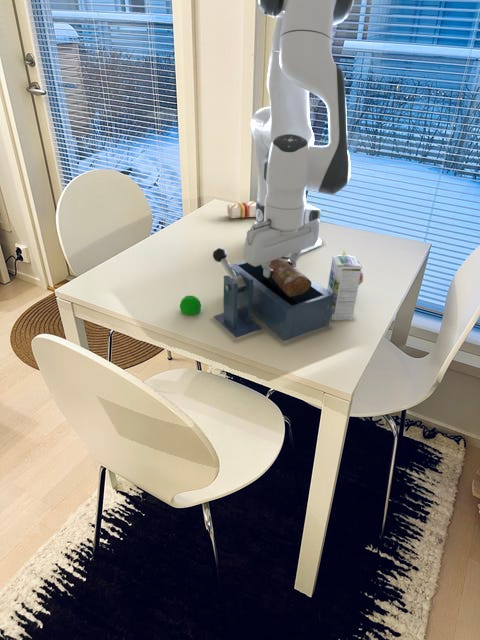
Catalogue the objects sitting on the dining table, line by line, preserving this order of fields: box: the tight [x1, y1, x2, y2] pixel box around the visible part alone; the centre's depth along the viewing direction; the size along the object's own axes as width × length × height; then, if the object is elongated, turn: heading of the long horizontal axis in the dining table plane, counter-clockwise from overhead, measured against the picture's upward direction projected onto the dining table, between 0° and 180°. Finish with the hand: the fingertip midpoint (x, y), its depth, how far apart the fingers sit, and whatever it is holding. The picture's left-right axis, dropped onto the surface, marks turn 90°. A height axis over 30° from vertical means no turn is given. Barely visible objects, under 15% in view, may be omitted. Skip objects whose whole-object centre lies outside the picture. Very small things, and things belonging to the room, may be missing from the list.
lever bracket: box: [213, 271, 263, 338], centre depth 114 cm, size 10×7×13 cm
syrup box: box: [326, 254, 363, 321], centre depth 119 cm, size 6×6×14 cm
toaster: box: [228, 260, 334, 342], centre depth 120 cm, size 13×24×9 cm, turn 32°
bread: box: [269, 257, 311, 297], centre depth 116 cm, size 6×19×6 cm, turn 20°
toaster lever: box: [212, 247, 247, 293], centre depth 113 cm, size 12×3×3 cm, turn 32°
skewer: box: [226, 200, 256, 219], centre depth 175 cm, size 21×6×5 cm, turn 109°
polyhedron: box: [179, 295, 202, 316], centre depth 120 cm, size 5×5×5 cm
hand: (279, 271), depth 117 cm, fingers closed on bread, 6 cm apart
